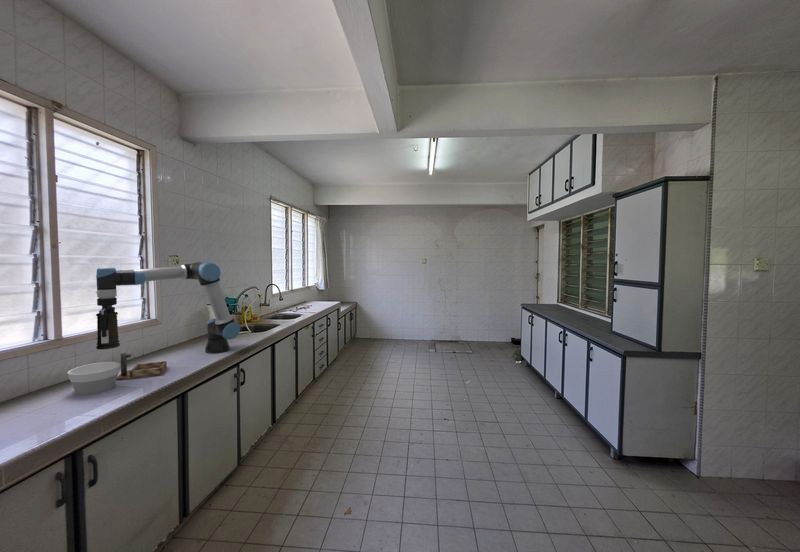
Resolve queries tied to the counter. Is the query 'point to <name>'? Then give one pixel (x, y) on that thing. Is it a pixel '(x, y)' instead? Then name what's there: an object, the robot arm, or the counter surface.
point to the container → (109, 332)
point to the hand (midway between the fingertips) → (108, 341)
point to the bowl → (94, 377)
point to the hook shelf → (140, 369)
